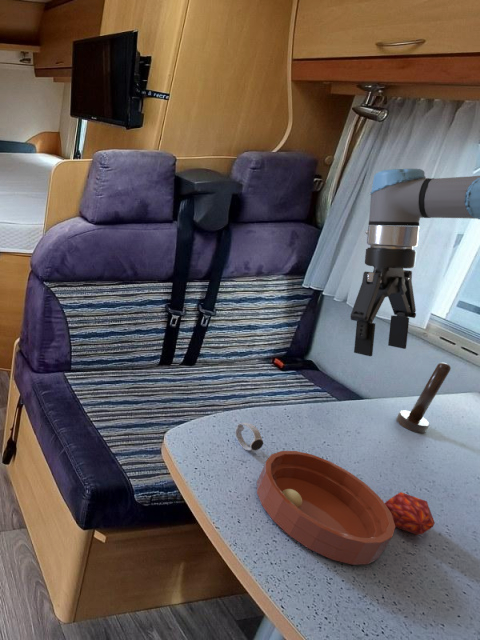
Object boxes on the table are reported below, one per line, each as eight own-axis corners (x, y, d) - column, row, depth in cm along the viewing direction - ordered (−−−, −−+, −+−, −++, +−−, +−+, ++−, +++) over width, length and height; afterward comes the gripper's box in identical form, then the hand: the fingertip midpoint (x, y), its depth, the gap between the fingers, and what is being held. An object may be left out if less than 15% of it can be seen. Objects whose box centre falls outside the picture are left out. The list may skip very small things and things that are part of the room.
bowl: (369, 504, 82) (382, 481, 80) (390, 590, 68) (407, 566, 66) (256, 458, 90) (265, 436, 88) (254, 526, 76) (265, 502, 74)
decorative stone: (412, 531, 80) (436, 554, 73) (367, 507, 83) (386, 527, 75) (430, 500, 79) (456, 520, 72) (384, 476, 82) (405, 493, 75)
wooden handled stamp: (422, 423, 104) (457, 362, 98) (428, 436, 100) (466, 374, 94) (393, 413, 106) (427, 353, 100) (398, 426, 102) (433, 364, 96)
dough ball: (298, 503, 80) (304, 490, 79) (299, 515, 78) (305, 503, 77) (278, 494, 81) (284, 481, 80) (278, 506, 79) (284, 494, 78)
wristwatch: (247, 456, 90) (255, 436, 88) (229, 437, 95) (237, 418, 93) (259, 455, 91) (268, 435, 89) (241, 436, 95) (249, 417, 93)
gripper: (397, 245, 102) (388, 339, 103) (334, 246, 91) (325, 352, 93) (444, 247, 95) (433, 348, 97) (382, 249, 84) (371, 363, 86)
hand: (380, 350), depth 95 cm, fingers open, 13 cm apart
